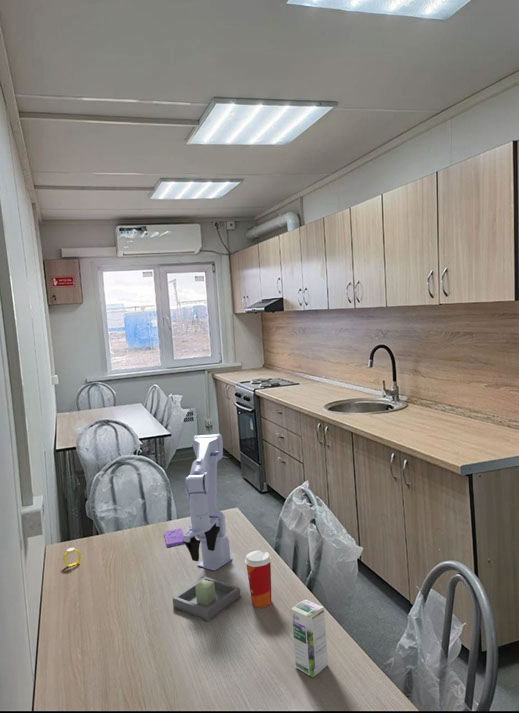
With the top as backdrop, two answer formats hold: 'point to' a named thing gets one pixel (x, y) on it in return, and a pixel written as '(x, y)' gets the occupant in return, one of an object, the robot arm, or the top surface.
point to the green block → (205, 592)
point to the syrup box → (309, 637)
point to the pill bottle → (259, 577)
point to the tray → (223, 600)
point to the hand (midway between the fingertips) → (203, 555)
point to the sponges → (173, 537)
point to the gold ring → (71, 552)
